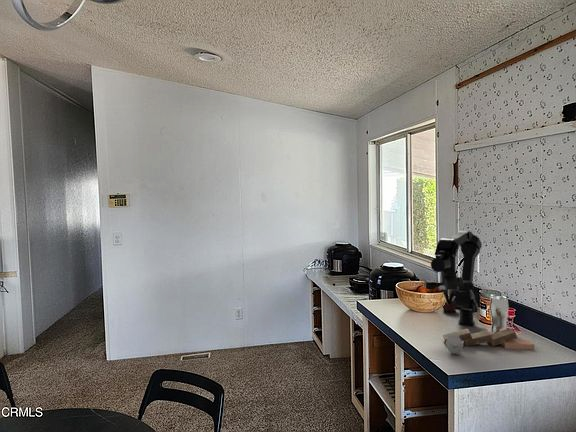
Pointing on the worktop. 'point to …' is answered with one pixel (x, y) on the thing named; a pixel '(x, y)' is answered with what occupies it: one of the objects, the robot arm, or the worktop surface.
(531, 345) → the loose domino
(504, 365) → the worktop surface
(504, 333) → the domino
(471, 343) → the domino
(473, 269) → the robot arm
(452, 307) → the mate gourd
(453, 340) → the grey faceted rock
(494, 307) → the beer glass
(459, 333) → the domino
